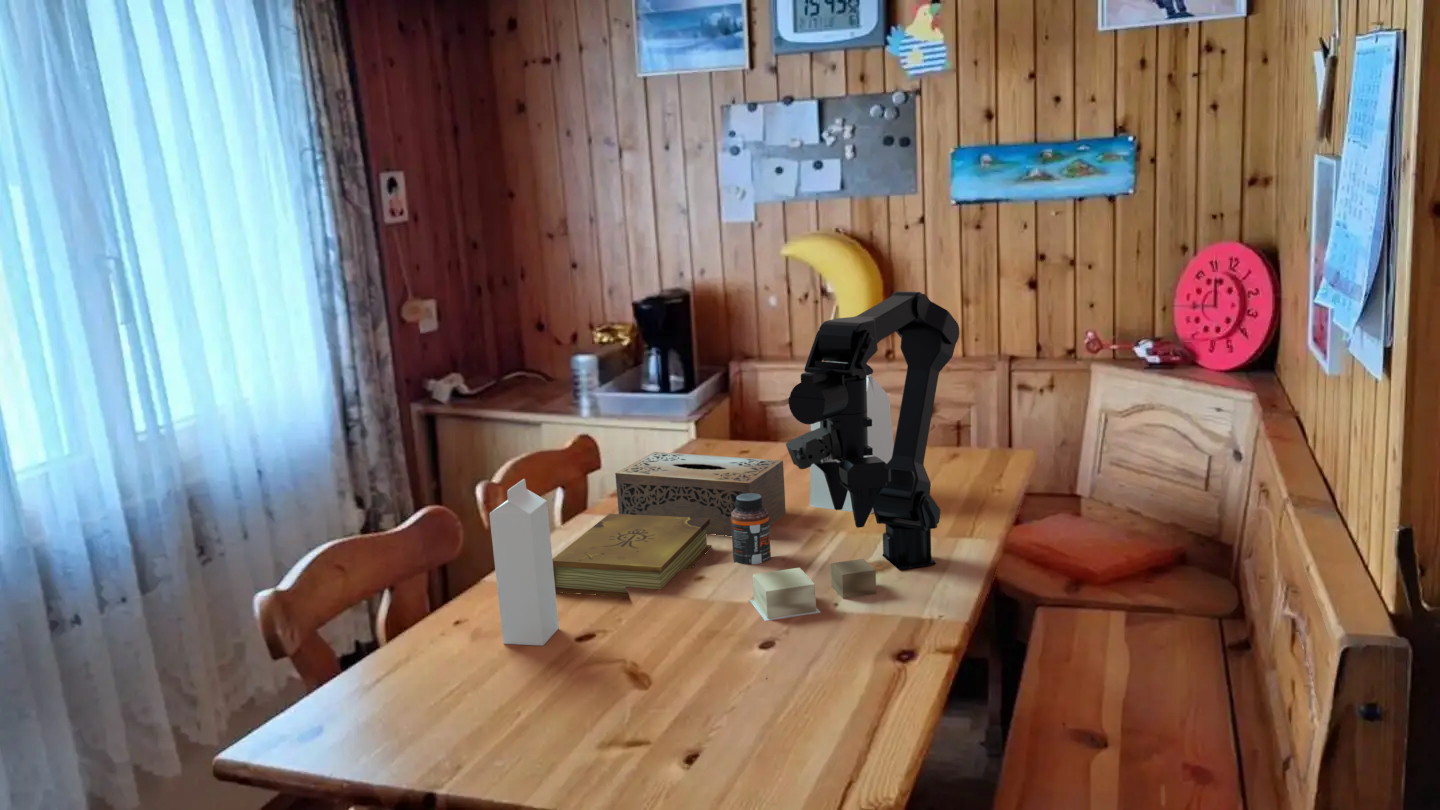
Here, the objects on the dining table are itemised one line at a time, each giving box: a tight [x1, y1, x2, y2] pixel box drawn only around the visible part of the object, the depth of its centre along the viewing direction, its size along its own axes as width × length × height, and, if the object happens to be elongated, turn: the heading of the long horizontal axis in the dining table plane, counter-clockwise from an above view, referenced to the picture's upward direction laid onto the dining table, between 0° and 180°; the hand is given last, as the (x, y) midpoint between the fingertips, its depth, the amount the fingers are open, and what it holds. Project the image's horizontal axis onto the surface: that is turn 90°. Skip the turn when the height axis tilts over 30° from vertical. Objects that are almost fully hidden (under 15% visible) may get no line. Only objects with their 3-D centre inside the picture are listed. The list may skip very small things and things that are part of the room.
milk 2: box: [809, 362, 894, 515], centre depth 217 cm, size 12×12×26 cm
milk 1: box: [489, 478, 560, 646], centre depth 166 cm, size 6×6×22 cm
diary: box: [552, 513, 713, 598], centre depth 192 cm, size 23×19×6 cm
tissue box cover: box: [615, 451, 787, 537], centre depth 214 cm, size 26×14×10 cm, turn 64°
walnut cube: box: [830, 558, 877, 600], centre depth 174 cm, size 5×5×5 cm
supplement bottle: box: [731, 493, 772, 565], centre depth 189 cm, size 6×6×11 cm
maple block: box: [752, 567, 817, 619], centre depth 170 cm, size 7×7×4 cm
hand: (848, 518), depth 172 cm, fingers open, 9 cm apart
